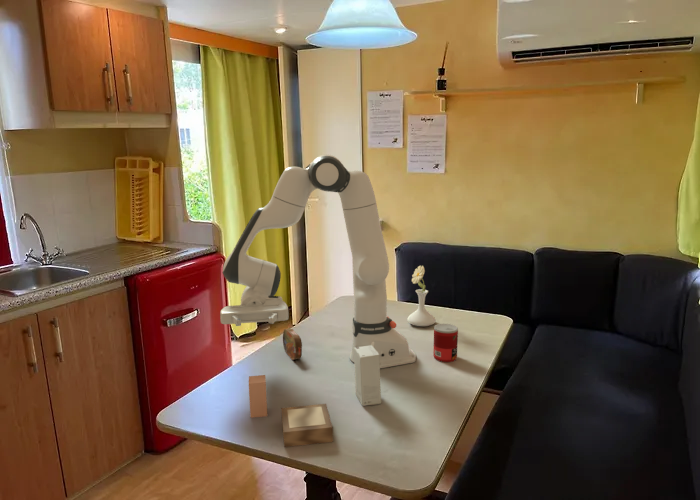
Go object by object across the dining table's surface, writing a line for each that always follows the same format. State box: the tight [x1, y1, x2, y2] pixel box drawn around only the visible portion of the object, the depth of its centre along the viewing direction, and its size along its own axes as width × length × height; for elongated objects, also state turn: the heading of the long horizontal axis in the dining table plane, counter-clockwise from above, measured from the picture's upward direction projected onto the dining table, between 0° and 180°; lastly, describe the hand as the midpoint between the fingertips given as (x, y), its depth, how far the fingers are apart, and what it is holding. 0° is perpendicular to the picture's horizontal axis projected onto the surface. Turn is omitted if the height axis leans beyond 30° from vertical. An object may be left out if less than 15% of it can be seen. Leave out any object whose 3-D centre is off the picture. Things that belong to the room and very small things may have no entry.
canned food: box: [433, 323, 459, 363], centre depth 179 cm, size 8×8×11 cm
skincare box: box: [353, 345, 382, 407], centre depth 151 cm, size 8×6×15 cm
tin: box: [282, 328, 303, 361], centre depth 183 cm, size 15×3×8 cm, turn 23°
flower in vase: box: [407, 265, 436, 327], centre depth 210 cm, size 13×11×25 cm
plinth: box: [280, 403, 334, 448], centre depth 136 cm, size 12×12×4 cm
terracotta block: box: [248, 374, 268, 419], centre depth 144 cm, size 4×4×10 cm
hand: (254, 322), depth 153 cm, fingers open, 8 cm apart
